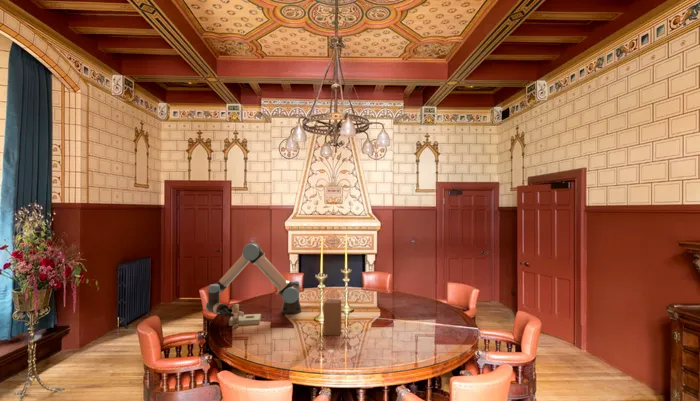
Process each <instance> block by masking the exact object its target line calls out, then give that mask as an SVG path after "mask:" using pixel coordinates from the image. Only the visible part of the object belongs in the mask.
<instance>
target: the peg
mask: <svg viewBox="0 0 700 401" xmlns="http://www.w3.org/2000/svg"><path fill="white" fill-rule="evenodd" d="M239 307H240V304H239V303H233V304H232V307H231V308H232V312H233V313H236V314H238V318H234V317H232V324H233V326H232V329H238V328H239V325H238V323H239V309H240V308H239Z"/></svg>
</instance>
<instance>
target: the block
mask: <svg viewBox="0 0 700 401" xmlns="http://www.w3.org/2000/svg"><path fill="white" fill-rule="evenodd" d="M341 332H342V300H341V299H328V298H327V299H326V300H325V301H324V303H323V336H337V337H338V336H340V334H341Z"/></svg>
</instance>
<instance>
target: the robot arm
mask: <svg viewBox="0 0 700 401" xmlns="http://www.w3.org/2000/svg"><path fill="white" fill-rule="evenodd" d="M249 263H251V264H252V265H254V266H256V267H257V268H258V269H259V270H260V271H261V272H262V273H263V274H264V276H266V278H267V279H268V280H269V281H270V282H271V283H272V284H273V285H274V286H275V287H276V288H277V292H278V294H279V295H280V296H281V297H282V300H283V303H282V306H281V314H286V315H296V314H299V313H301V312H302V306H301V303H300V282H299V281H298V280H296V281H295V280H287V279H286V278H285V277H284V276H283V275H282V274H281V273H280V271H278V269H277V268H276V267H275V265H273V263H271V261H270V260H269V259H268V258H267V257H266V252H264V251H263V249H262V247H261V244H259V243H258V242H255V241H252V242H251V241H250V242H249V243H246V244H245V246H244V247H243V248H242V253H241V256H240V257H239V258H237V260H236V261H235V263H234V264H232V266H231V267H230V268H229V269H228V270H227V271H226V273H225V274H224V275H223V276H222V277H221V278H220V279H219V280H218V281H217V282H216V283H213V284H212V283H211V284H209V285H208V290H207V291H208V293H207V294H208V299H207V300H208V301H207V302H206V303H205V309H206V311H208V312H210V313H213V314H216V315H217V316H222V317H225V318H229V319H230V318H231V317H234V318H238V314H236V313H233V312H232V307H229V306H228V305H227V304H225V303H222V302H220V298H221V297H220V295H221V294H222V293H224V291H225V290H226V288H228V286H230V284H231V283H232V282H233V281H234V280H235V279H236V277H238V276H239V274H241V272H242V271H243V270H244V268H246V266H248V264H249ZM244 315H245V313H244V311H242V309H240V308H239V316H242V317H244Z"/></svg>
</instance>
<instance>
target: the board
mask: <svg viewBox="0 0 700 401" xmlns="http://www.w3.org/2000/svg"><path fill="white" fill-rule="evenodd" d="M261 318H262V313H251V314H248V313H247V314H244V317H242V316H239V323H238V326H244V325H245V326H246V325H247V326H248V325H259V324H261V323H260V322H261ZM228 326H229V327H230V326H231V327H233V324H232V317H231V318H229V320H228Z"/></svg>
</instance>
